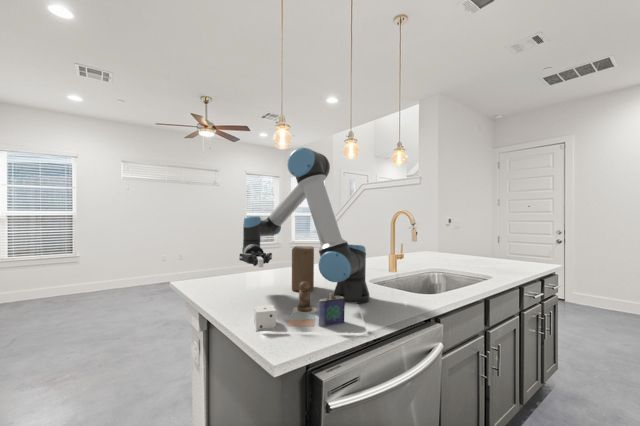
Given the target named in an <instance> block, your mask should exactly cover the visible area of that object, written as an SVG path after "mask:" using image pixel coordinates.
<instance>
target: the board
mask: <svg viewBox="0 0 640 426" xmlns="http://www.w3.org/2000/svg"><path fill="white" fill-rule="evenodd" d="M316 313H317V307H314V306H312V310H311V311H309V312H300V311H298V306H294V307H293V309H292V312H291V315H290V317H289V320H288V323H287V327H315V323H316V320H315V319H316Z"/></svg>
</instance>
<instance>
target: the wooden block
mask: <svg viewBox="0 0 640 426" xmlns="http://www.w3.org/2000/svg"><path fill="white" fill-rule="evenodd" d="M314 261H315V247H314V246H309V245H303V246H299V245H297V246H293V248H292V250H291V291H293V292H299V290H300V289H299V285H300V283H301V282H303V281H306V282H308V283H309V284H310V289H309V290H310V292H312V291H314V283H315V282H314V280H315V279H314V277H315V276H314V275H315V272H314V271H315V268H314V267H315V262H314Z"/></svg>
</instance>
